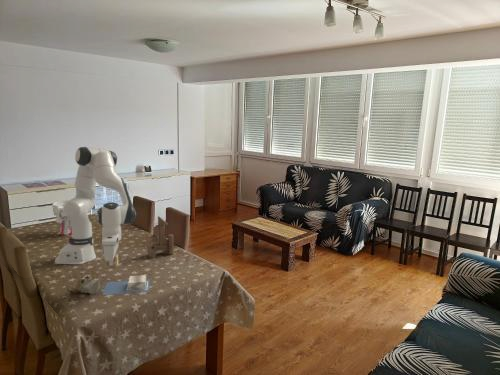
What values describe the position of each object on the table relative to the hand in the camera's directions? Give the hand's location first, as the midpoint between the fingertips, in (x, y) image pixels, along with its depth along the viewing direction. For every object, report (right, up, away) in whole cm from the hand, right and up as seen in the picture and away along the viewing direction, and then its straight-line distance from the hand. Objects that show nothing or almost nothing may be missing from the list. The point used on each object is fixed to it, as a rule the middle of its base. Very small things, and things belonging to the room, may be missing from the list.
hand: (112, 262), depth 178 cm
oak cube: (0, -1, 0) cm, 1 cm away
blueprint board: (+6, -14, +4) cm, 16 cm away
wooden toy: (+11, -6, +51) cm, 53 cm away
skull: (-64, +3, +84) cm, 106 cm away
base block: (+11, -13, +5) cm, 18 cm away
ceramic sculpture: (-13, -15, 0) cm, 20 cm away
